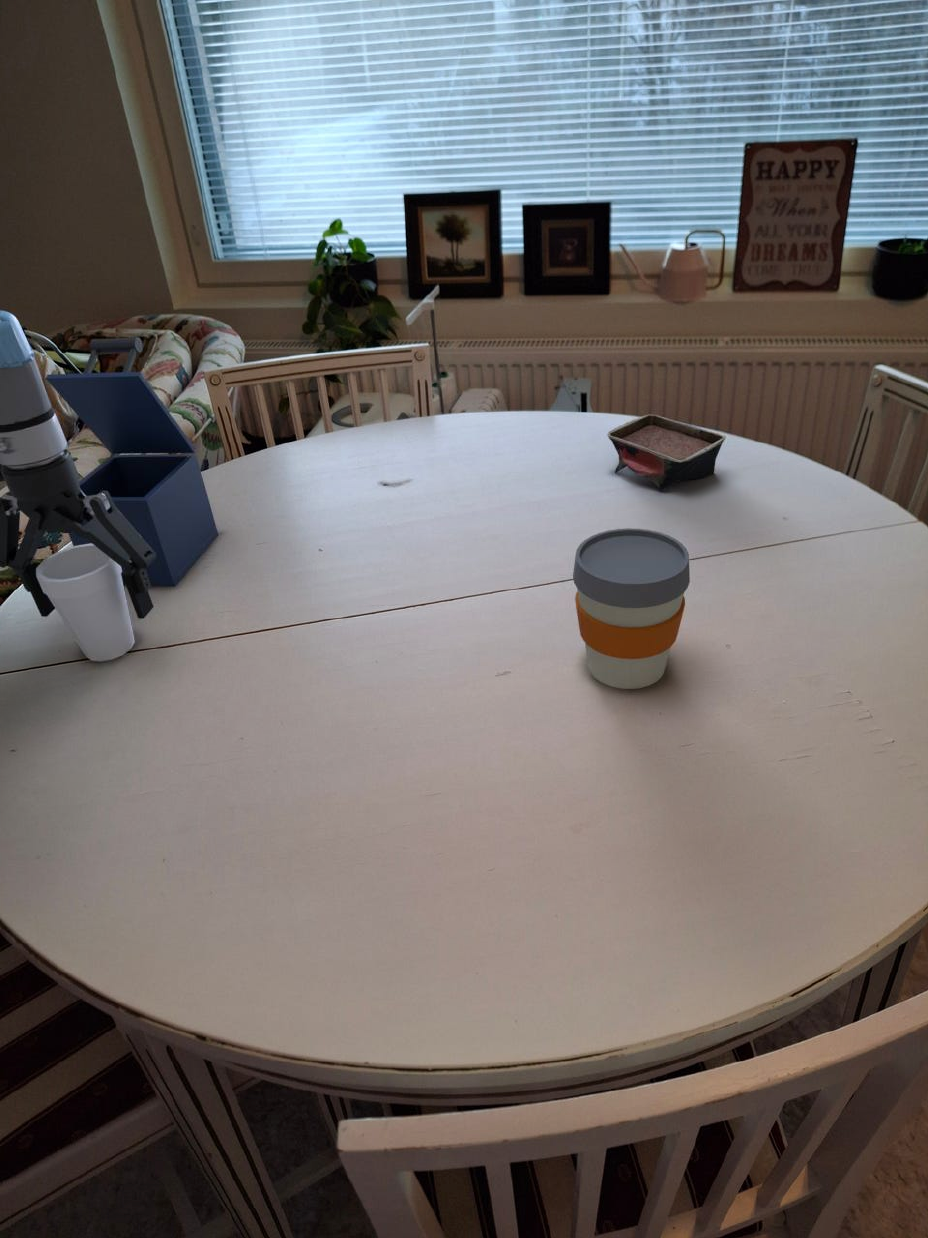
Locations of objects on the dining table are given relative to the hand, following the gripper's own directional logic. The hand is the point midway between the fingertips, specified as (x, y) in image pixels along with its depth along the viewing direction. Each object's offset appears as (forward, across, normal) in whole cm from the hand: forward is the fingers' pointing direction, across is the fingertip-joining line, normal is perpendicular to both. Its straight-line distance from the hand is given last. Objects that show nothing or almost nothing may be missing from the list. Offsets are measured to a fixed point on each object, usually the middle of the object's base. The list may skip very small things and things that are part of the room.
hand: (97, 612), depth 103 cm
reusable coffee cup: (+6, +67, 0) cm, 67 cm away
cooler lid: (-16, -5, +26) cm, 31 cm away
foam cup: (+6, 0, 0) cm, 6 cm away
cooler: (+6, -5, +23) cm, 24 cm away
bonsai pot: (+6, +74, +54) cm, 91 cm away
